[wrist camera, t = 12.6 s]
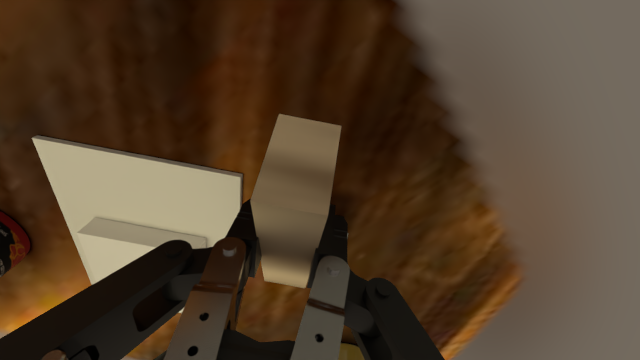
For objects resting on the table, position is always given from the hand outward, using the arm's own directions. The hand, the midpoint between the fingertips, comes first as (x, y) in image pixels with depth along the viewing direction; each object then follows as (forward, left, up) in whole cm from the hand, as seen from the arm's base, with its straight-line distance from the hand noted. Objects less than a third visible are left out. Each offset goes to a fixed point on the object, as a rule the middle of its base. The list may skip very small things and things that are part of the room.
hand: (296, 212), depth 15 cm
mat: (+12, -13, -7) cm, 19 cm away
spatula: (+2, 0, -2) cm, 3 cm away
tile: (+10, -13, -5) cm, 17 cm away
